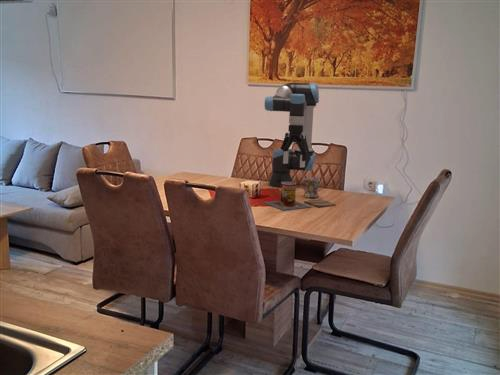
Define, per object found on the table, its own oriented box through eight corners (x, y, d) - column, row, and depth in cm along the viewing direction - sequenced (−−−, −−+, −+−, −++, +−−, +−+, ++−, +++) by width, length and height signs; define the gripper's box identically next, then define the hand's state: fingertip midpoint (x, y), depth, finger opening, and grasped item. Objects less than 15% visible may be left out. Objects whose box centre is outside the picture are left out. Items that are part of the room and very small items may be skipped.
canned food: (282, 207, 244) (284, 184, 241) (277, 203, 251) (279, 181, 249) (297, 206, 246) (298, 184, 243) (291, 203, 253) (292, 181, 251)
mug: (321, 196, 272) (322, 178, 270) (315, 199, 264) (317, 181, 262) (302, 194, 278) (303, 176, 275) (296, 196, 270) (297, 178, 267)
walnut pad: (304, 202, 255) (304, 201, 255) (321, 200, 262) (321, 199, 261) (318, 207, 245) (318, 206, 245) (335, 205, 252) (335, 203, 252)
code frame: (263, 203, 251) (263, 202, 251) (290, 200, 261) (290, 199, 260) (283, 211, 236) (283, 210, 236) (311, 207, 246) (311, 206, 245)
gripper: (275, 122, 249) (273, 162, 253) (306, 126, 229) (304, 169, 233) (286, 122, 253) (284, 161, 257) (318, 126, 233) (315, 168, 237)
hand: (293, 165), depth 245 cm, fingers open, 13 cm apart
